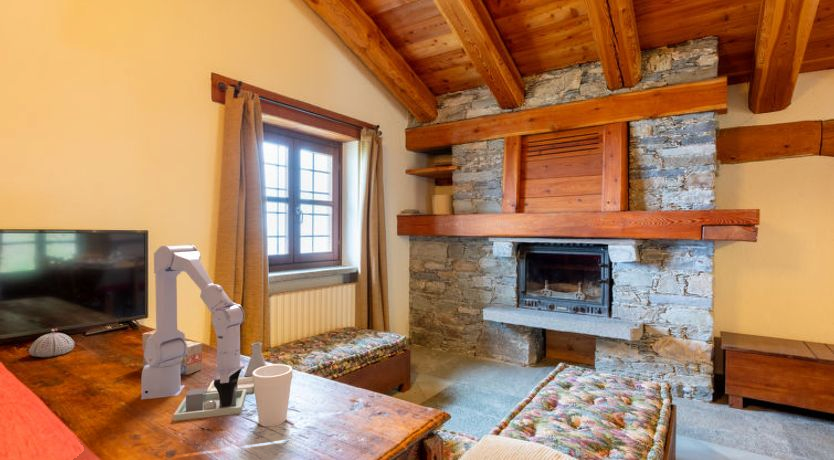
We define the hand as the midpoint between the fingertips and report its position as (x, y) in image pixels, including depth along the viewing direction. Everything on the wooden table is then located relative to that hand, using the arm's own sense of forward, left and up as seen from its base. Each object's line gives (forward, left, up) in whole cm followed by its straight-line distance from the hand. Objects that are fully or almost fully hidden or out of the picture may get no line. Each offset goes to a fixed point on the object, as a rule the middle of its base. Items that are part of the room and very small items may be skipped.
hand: (228, 400), depth 112 cm
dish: (-1, +12, -2) cm, 12 cm away
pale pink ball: (-4, -3, -1) cm, 5 cm away
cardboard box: (-24, +39, -2) cm, 46 cm away
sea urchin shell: (-73, +71, -2) cm, 102 cm away
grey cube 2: (-8, 0, -1) cm, 8 cm away
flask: (+5, +25, -2) cm, 26 cm away
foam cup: (+12, -13, -2) cm, 18 cm away
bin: (-4, 0, -2) cm, 4 cm away
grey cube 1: (0, 0, -1) cm, 1 cm away
